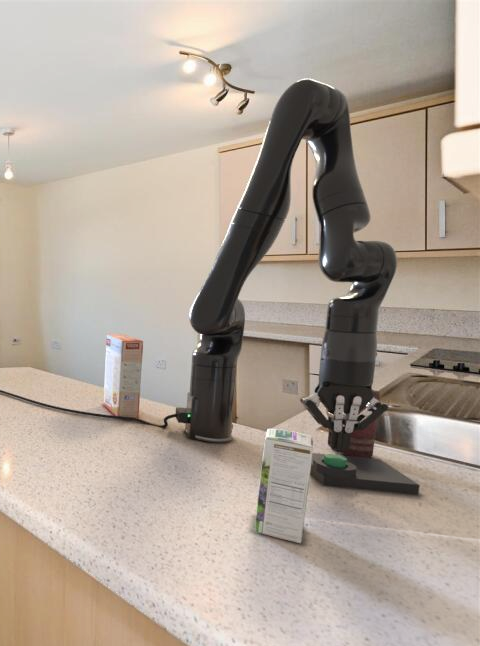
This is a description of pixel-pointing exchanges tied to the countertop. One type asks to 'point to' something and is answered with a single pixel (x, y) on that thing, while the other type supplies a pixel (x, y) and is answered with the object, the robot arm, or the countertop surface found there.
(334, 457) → the tare button
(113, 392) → the cracker box
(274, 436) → the syrup box
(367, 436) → the can
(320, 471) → the scale
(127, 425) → the countertop surface
